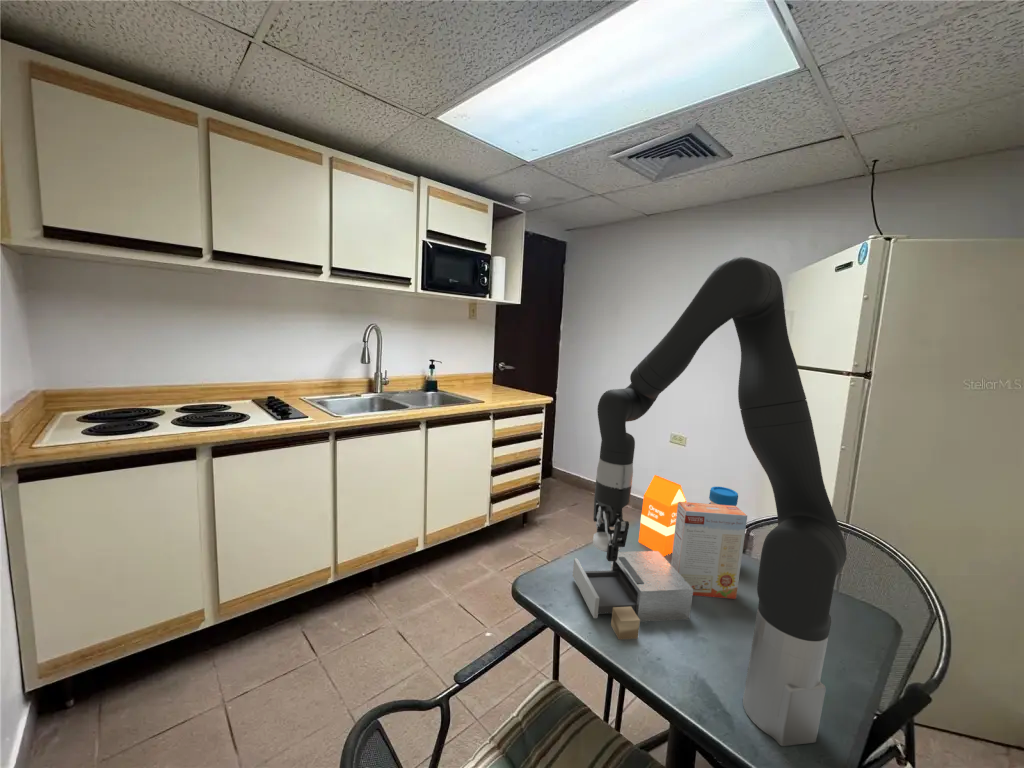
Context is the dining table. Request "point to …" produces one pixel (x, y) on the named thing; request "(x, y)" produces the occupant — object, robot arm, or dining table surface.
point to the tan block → (625, 623)
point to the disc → (601, 541)
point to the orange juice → (660, 515)
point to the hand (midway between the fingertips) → (605, 551)
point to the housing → (655, 586)
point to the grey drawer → (604, 589)
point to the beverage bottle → (723, 496)
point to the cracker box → (709, 547)
